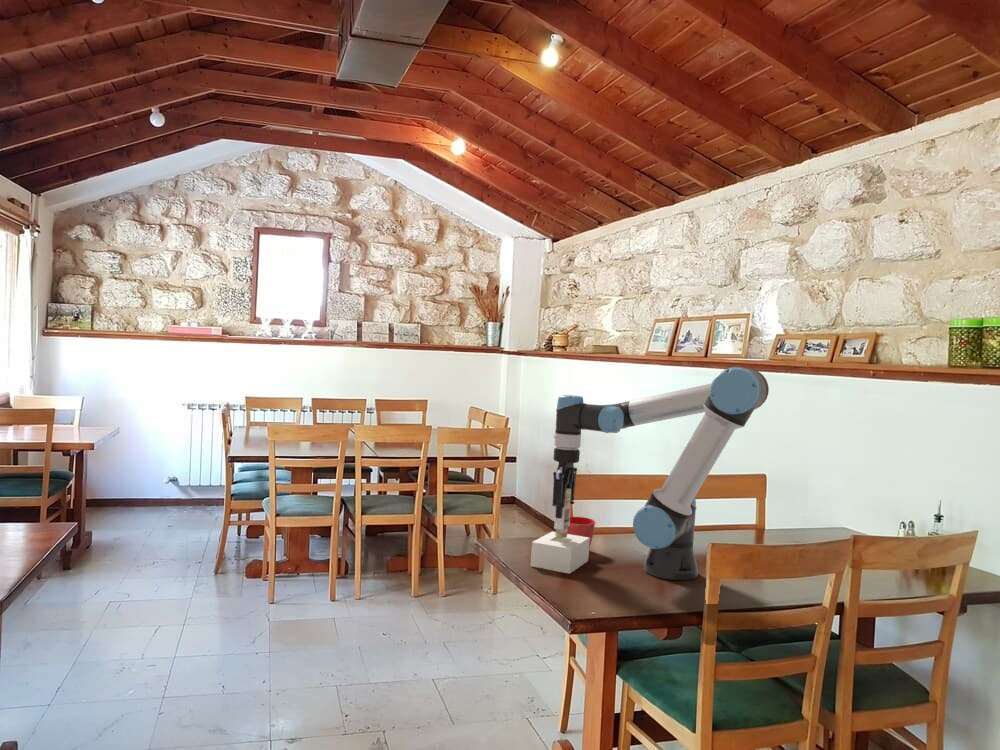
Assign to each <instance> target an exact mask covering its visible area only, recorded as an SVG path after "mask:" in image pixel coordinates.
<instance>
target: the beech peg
mask: <svg viewBox="0 0 1000 750" xmlns="http://www.w3.org/2000/svg"><path fill="white" fill-rule="evenodd" d="M570 499H571V489H570V488H566V494H565V501H564V507H565V517H564V530H560V529H555V532H556V533H555V536H556V537H561V538H565V537H567V528H568V527H569V514H570V515H571V510H570V505H571V504H570Z"/></svg>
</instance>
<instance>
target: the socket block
mask: <svg viewBox="0 0 1000 750" xmlns="http://www.w3.org/2000/svg"><path fill="white" fill-rule="evenodd" d="M555 533H556V531H550V532H548V533H545V535H543V536H541V537H539V538H537V539H535V540H533V541H531V550H530V551H531V552H530V566H529V567H534V568H538V569H542V568H543V570H548V571H554V572H559V573H564V574H571V573H573V572H575V571H576V570H577V569H579V568H580V567H581V566H583V565H584V564H586V563H587V562H589V555H590V554H589V553H590V549H589V541H590V538H589V537H583V536H577V535H571V534H567V537H565V538H561V537H556V536H555Z"/></svg>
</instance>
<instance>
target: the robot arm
mask: <svg viewBox="0 0 1000 750" xmlns="http://www.w3.org/2000/svg"><path fill="white" fill-rule="evenodd" d="M769 392H770V390H769V383H768V380H767V378H766V377H765V376H764V375H763V374H762V373H761V372H760V371H758V370H757V369H754V368H749V367H743V366H732V367H728V368H726V369H724V370H721V371H720V372H719V373H718V374H717V375H716V376H715V377H714V379H713V380H712V382H711V383H706V384H703V385H699V386H698V385H697V386H694V387H689V388H685V389H680V390H674V391H670V392H666V393H661V394H656V395H651V396H648V397H642V398H638V399H634V400H633V399H632V400H629V401H624V402H620V403H619V402H618V403H614V404H591V403H590V404H588V403H586V402H585V403H584V397H583V396H580V395H572V394H561V395H559V396H558V398H557V405H556V409H555V412H556V415H555V416H556V417H555V433H554V435H553V438H554V446H555V448H554V449H553V460H554V462H557V463H558V466H557V469H556V471H554V472H553V474H552V475H553V488H552V489H553V492H552V504H551V506H552V507H555V508H554V509H555V511H554V523H553V525H554V526H553V529H555V530H556V529H560V530H564V517H565V507H564V501H565V494H566V488H570V489H571V499H570V511H571V508H572V507H571V506H572V505H574V504H575V501H574V500H575V491H576V481H577V480H576V477H577V472H578V468H577V467H575V466H574V464H576V463H579V462H580V453H581V452H580V451H581V450H580V449H579V448H581V444H582V443H581V441H582V430H584V431H585V430H586V431H593V432H601V433H602V432H603V433H605V434H609V433H610V434H617V433H619V432H620V431H621V430H623V429H627V428H630V427H636V426H640V425H644V424H649V423H650V424H651V423H655V422H656V423H657V422H660V421H666V420H671V419H675V418H681V417H686V416H692V415H696V414H697V415H699V414H702V413H704V415H703V416H702V418H701V420H700V422H699V423H698V425H697V426H696V429H695V430H694V431H693V433H692V435H691V437H690V439H689V440H688V442H687V444H686V446H685V447H684V449H683V450H682V452H681V454H680V456H679V458H678V460H677V461H676V462H675V464H674V467H673V468H672V469H671V471H670V473H669V475H668V477H666V480H665V481H664V483H663V485H662V486H661V487H660V488H655V489H654V490H653V491H652V492H651V494H650V496H649V498H648V499H647V501H646V503H645V504H644V506H642V507H641V508H639V510H637V511H636V513H635V515H634V516H633V518H632V530H633V533H634V535H635V537H636V538H637V540H638V542H640V543H641V544H642V545H643V546H645V547H646V548H649V550H648V553H647V555H646V557H645V559H644V563H643V564H644V565H643V571H644V572H645V573H646V574H649V575H651V576H653V577H656V578H660V579H664V580H665V579H666V580H673V581H689V580H690V581H691V580H694V579H696V578H698V575H699V574H698V572H699V569H698V563H697V560H696V555H695V551H694V538H695V527H696V526H695V525H696V513H697V512H696V511H697V501H696V498H695V497H696V496H697V494H698V492H699V491H700V489H701V487H702V486H703V484H704V482H705V481H706V479H707V477H708V476H709V474H710V472H711V470H712V468H713V467H714V465H715V464H716V462H717V460H718V459H719V457H720V455H721V454H722V452H723V451H724V449H725V447H726V445H727V444H728V442H729V441H730V439H731V437H732V436H733V434H734V432H735V430H737V429H741V428H744V427H745V426H746V424H747V422H748V420H749V419H750V418H751V416H752V414H753V412H754V411H755V410H757V409H759V408H760V407H762V406H763V404H765V402H766V401H767V400H768V396H769ZM570 517H571V513H570V514H569V525H570Z"/></svg>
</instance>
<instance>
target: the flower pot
mask: <svg viewBox="0 0 1000 750" xmlns="http://www.w3.org/2000/svg"><path fill="white" fill-rule="evenodd" d="M595 524H596V521H595V520H594V519H592V518H589V517H584V516H570V525H569V527H568V528H567V534H571V535H577V536H583V537H589V538H590V541H589V550H591V544H592V540H593V537H594V536H593V535H594V532H595V531H594V530H595V526H596V525H595Z"/></svg>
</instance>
